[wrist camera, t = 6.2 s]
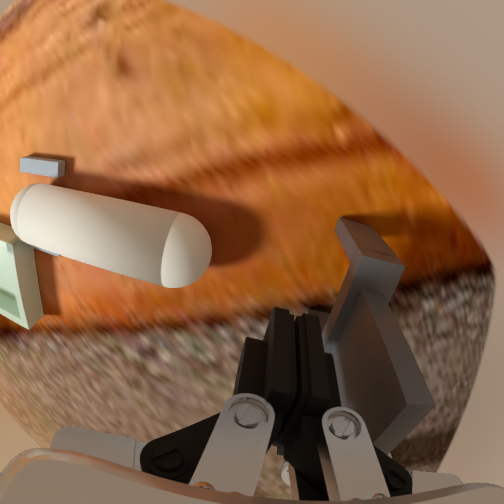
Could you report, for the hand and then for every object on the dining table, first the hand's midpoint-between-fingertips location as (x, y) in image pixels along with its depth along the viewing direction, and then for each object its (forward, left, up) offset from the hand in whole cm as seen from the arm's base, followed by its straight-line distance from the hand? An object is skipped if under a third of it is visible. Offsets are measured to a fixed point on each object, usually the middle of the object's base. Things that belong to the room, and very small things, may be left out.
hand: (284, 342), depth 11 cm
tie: (-3, 0, -7) cm, 8 cm away
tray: (+28, +6, -7) cm, 29 cm away
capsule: (+11, 0, -7) cm, 13 cm away
